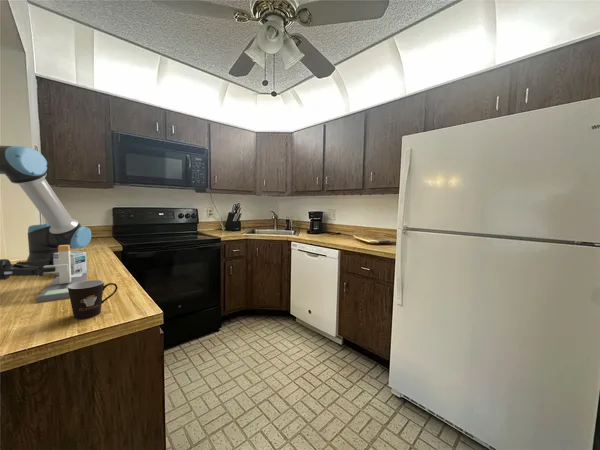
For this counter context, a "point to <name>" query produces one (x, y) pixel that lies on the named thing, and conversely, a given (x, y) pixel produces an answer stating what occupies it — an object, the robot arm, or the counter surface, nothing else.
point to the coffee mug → (87, 298)
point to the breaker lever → (64, 259)
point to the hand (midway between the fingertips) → (71, 263)
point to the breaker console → (59, 288)
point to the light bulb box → (76, 262)
